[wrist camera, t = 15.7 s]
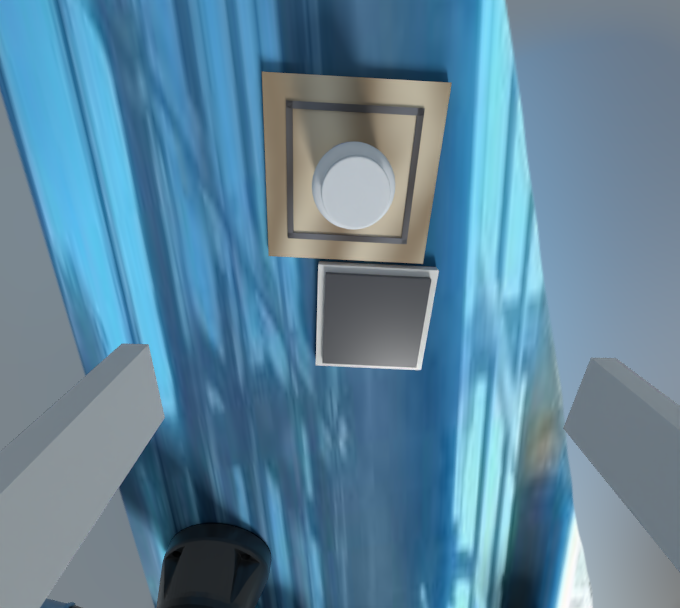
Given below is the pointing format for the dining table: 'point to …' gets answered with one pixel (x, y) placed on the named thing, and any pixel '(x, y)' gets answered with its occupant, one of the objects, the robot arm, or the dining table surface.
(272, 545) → the dining table surface
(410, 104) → the marked board
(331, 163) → the pill bottle
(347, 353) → the ink pad
